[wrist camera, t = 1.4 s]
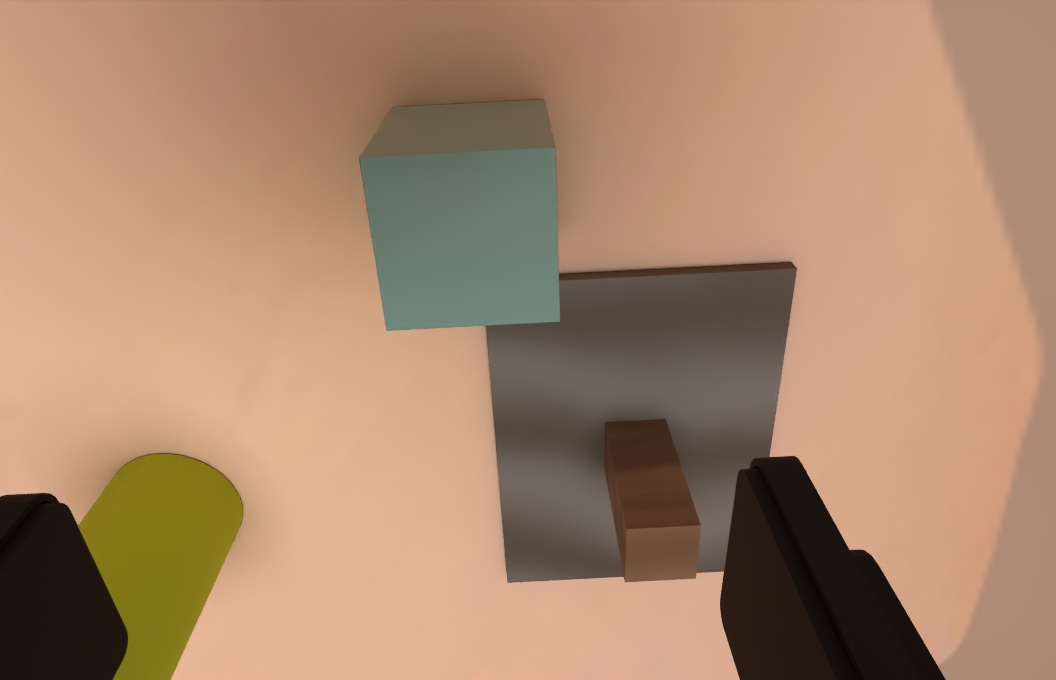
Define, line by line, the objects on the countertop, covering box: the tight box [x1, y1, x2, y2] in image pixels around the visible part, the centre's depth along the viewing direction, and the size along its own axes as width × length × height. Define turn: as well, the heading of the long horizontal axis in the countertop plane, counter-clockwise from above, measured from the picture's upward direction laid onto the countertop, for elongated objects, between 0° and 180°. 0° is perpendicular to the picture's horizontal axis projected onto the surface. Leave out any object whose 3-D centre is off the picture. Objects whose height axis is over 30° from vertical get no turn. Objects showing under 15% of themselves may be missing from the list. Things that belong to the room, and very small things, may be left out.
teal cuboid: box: [359, 99, 560, 331], centre depth 23 cm, size 5×5×7 cm
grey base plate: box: [486, 262, 797, 583], centre depth 29 cm, size 16×12×7 cm
